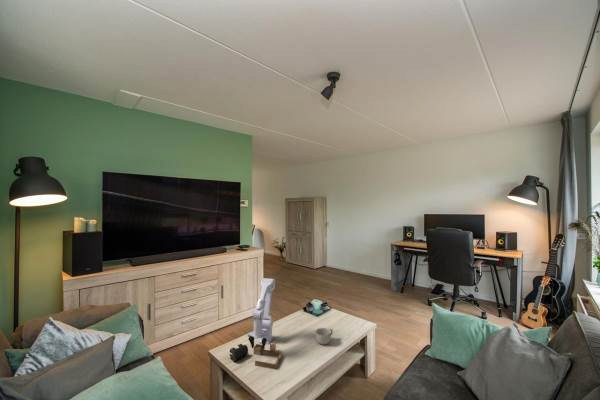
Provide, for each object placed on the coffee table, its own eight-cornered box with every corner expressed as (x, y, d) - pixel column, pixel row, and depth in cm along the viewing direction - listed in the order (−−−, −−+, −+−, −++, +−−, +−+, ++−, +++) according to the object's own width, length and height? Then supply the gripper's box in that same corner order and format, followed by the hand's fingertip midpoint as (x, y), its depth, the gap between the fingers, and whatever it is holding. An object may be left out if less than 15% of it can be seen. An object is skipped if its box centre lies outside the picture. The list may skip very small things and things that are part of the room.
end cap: (235, 363, 159) (235, 353, 159) (229, 359, 164) (229, 348, 164) (248, 356, 167) (248, 346, 167) (241, 352, 172) (241, 342, 171)
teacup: (319, 347, 176) (319, 336, 176) (312, 339, 187) (313, 328, 186) (337, 343, 182) (337, 332, 182) (329, 336, 192) (329, 325, 192)
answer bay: (263, 353, 170) (263, 349, 170) (282, 356, 167) (282, 352, 167) (254, 365, 158) (254, 361, 158) (275, 369, 154) (275, 365, 154)
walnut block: (256, 350, 173) (256, 343, 173) (262, 351, 172) (262, 344, 172) (253, 354, 169) (253, 347, 169) (259, 355, 168) (259, 348, 168)
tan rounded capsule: (271, 349, 175) (271, 342, 175) (276, 350, 174) (276, 343, 174) (269, 352, 171) (269, 345, 171) (274, 353, 170) (274, 346, 170)
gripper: (245, 329, 169) (245, 350, 168) (265, 332, 165) (265, 353, 165) (250, 324, 175) (250, 344, 175) (270, 327, 172) (269, 347, 172)
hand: (258, 348), depth 170 cm, fingers open, 7 cm apart
